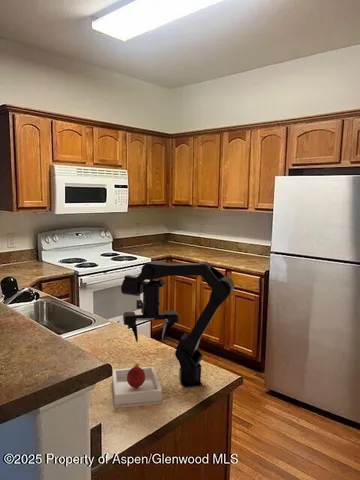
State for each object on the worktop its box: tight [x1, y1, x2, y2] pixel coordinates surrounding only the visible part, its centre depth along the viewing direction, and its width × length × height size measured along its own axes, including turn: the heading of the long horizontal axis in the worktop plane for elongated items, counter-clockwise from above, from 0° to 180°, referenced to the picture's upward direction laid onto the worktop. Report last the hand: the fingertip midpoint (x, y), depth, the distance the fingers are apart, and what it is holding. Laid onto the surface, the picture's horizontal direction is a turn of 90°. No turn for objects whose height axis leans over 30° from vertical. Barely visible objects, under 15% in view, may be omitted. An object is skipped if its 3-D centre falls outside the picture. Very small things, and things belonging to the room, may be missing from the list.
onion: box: [127, 363, 145, 389], centre depth 116 cm, size 6×6×8 cm
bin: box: [111, 366, 163, 409], centre depth 116 cm, size 14×16×4 cm
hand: (150, 341), depth 127 cm, fingers open, 9 cm apart
